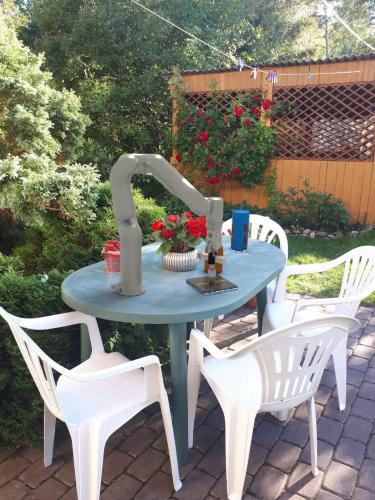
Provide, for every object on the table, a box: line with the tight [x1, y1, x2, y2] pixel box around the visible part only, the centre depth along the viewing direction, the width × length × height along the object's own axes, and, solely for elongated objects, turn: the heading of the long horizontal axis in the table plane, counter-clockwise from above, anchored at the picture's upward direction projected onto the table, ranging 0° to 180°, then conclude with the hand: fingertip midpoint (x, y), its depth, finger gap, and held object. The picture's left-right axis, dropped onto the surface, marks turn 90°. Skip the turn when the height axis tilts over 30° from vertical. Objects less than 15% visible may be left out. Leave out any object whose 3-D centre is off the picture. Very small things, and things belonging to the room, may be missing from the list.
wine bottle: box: [203, 245, 224, 274], centre depth 195 cm, size 10×10×30 cm
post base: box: [185, 269, 239, 294], centre depth 177 cm, size 18×18×8 cm
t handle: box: [196, 251, 227, 270], centre depth 175 cm, size 3×14×7 cm, turn 54°
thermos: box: [230, 209, 251, 252], centre depth 239 cm, size 11×11×25 cm
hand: (212, 262), depth 175 cm, fingers closed on t handle, 3 cm apart
